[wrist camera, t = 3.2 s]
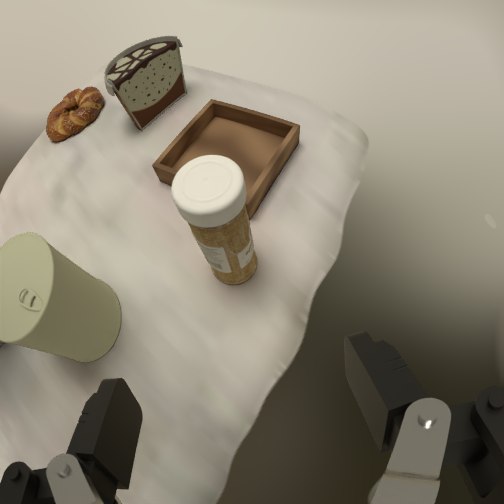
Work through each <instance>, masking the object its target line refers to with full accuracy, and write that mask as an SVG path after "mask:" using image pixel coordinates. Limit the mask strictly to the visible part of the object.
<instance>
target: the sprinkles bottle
mask: <svg viewBox="0 0 504 504" xmlns="http://www.w3.org/2000/svg"><path fill="white" fill-rule="evenodd" d="M171 191H172V197H173V200H174V202H175V204H176V207H177V209H178V211H179V212H180V214H181V216H182V217H183V218H184V219H185V220H186V221H187V222H188V224H189V225H190V228H191V230H192V233H193V235H194V237H195V239H196V241H197V243H198V245H199V247H200V248H201V250H202V252H203V254H204V256H205V258H206V259H207V261H208V263H209V264H210V265H211V269H212V271H213V273H214V275H215V276H216V277H217V278H218V279H219V280H220V281H222V282H224V283H226V284H240V283H243V282H245V281H246V280H248V279H249V278H250V277H251V276H252V274H253V273H254V271H255V269H256V266H257V257H256V254H255V251H254V244H253V239H252V234H251V229H250V223H249V217H248V215H247V210H246V205H245V201H246V186H245V181H244V176H243V173H242V171H241V169H240V167H239V166H238V165H237V164H236V163H235V162H234V161H232V160H231V159H229V158H227V157H224V156H220V155H205V156H201V157H198V158H195V159H193V160H191V161H189V162H188V163H186V164H185V165H184V166H183V167H182V168H181V169H180V170H179V171H178V172H177V174H176V175H175V177H174V179H173V182H172V188H171Z"/></svg>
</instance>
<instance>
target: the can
mask: <svg viewBox="0 0 504 504" xmlns="http://www.w3.org/2000/svg"><path fill="white" fill-rule="evenodd" d="M120 325H121V309H120V304H119V301H118V298H117V296H116V294H115V293H114V291H113V290H112V288H111V287H110V286H109V285H107V284H106V283H105V282H103V281H101V280H99V279H96V278H95V277H93V276H92V275H90V274H89V273H87V272H86V271H84V270H83V269H81V268H80V267H79V266H77V265H76V264H75V263H73V262H72V261H71V260H69V259H68V258H66V257H65V256H64V255H62V254H61V253H60V252H59V251H57V250H56V249H55V248H54V247H52V246H51V245H50V244H49V243H47V242H46V240H45V239H44V238H43V237H41V236H40V235H38V234H35V233H31V232H27V233H21V234H18V235H16V236H14V237H13V238H11V239H10V240H8V241H7V242H6V243H5V244H4V245H3V246H2V247H1V248H0V341H2V342H6V343H12V344H16V345H20V346H24V347H28V348H32V349H36V350H39V351H43V352H47V353H51V354H55V355H60V356H64V357H68V358H71V359H73V360H75V361H78V362H91V361H94V360H97V359H99V358H101V357H102V356H103V355H105V354H106V353H107V352H108V351H109V350H110V349H111V347H112V346H113V344H114V343H115V341H116V339H117V336H118V333H119V330H120Z"/></svg>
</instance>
